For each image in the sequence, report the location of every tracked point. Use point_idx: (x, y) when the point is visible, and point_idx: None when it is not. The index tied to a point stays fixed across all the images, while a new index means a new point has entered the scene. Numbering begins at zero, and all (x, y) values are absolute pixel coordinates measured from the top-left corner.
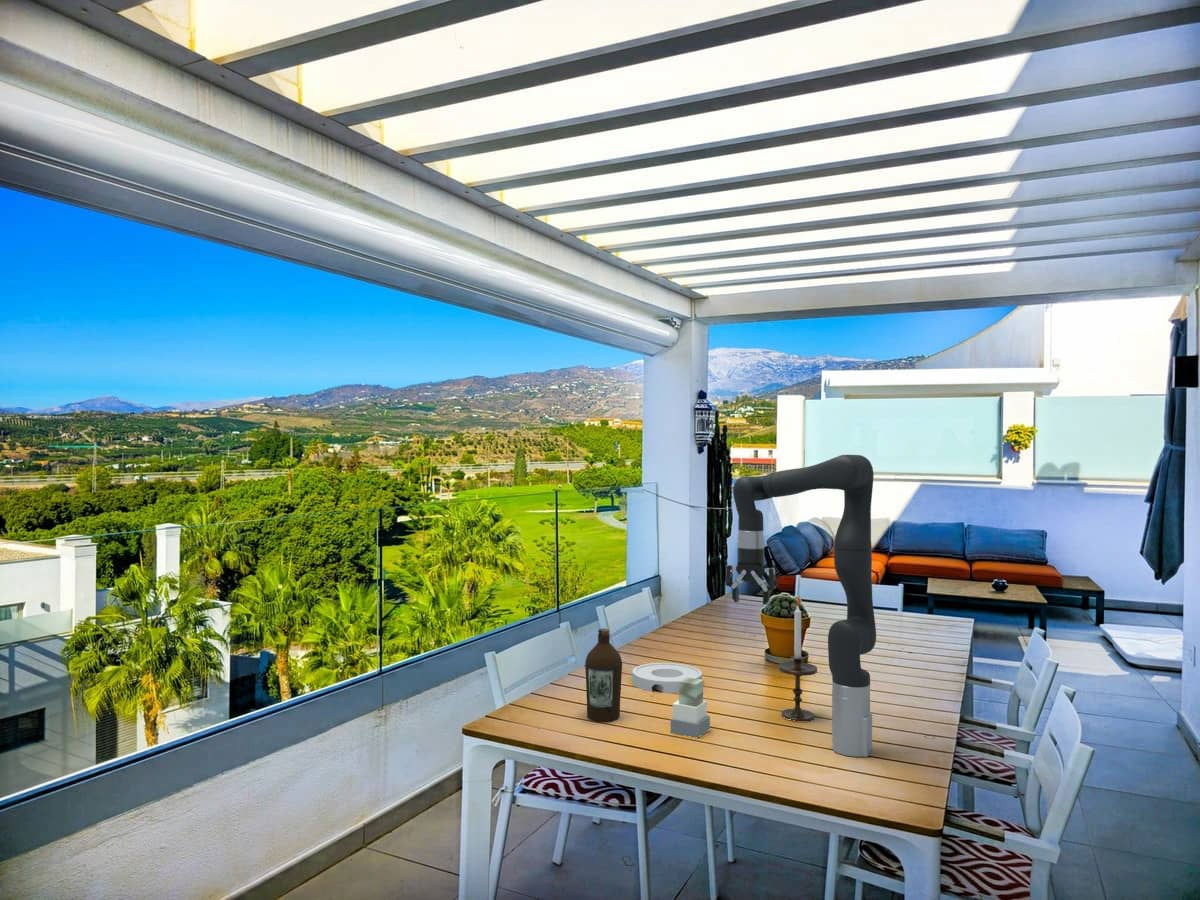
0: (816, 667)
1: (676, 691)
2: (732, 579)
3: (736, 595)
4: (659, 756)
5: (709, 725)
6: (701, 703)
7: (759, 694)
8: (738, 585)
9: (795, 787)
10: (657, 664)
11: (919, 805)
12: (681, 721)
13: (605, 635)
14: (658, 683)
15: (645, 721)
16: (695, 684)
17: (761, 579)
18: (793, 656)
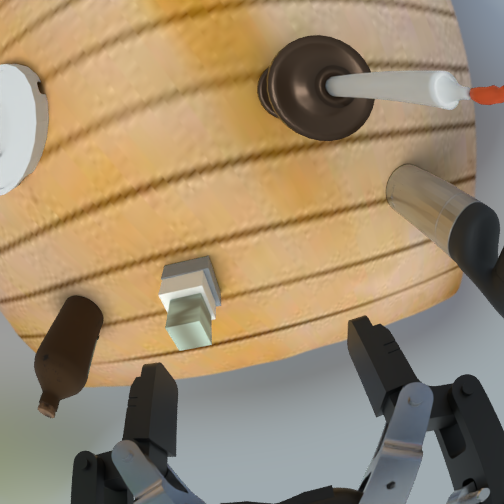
0: (366, 65)
1: (40, 154)
2: (98, 493)
3: (175, 419)
4: (227, 350)
5: (209, 261)
6: (205, 299)
7: (150, 23)
8: (150, 462)
9: (373, 314)
10: None
11: (456, 269)
12: None
13: (55, 410)
14: (18, 183)
15: (123, 291)
16: (210, 344)
17: (381, 488)
18: (318, 77)
